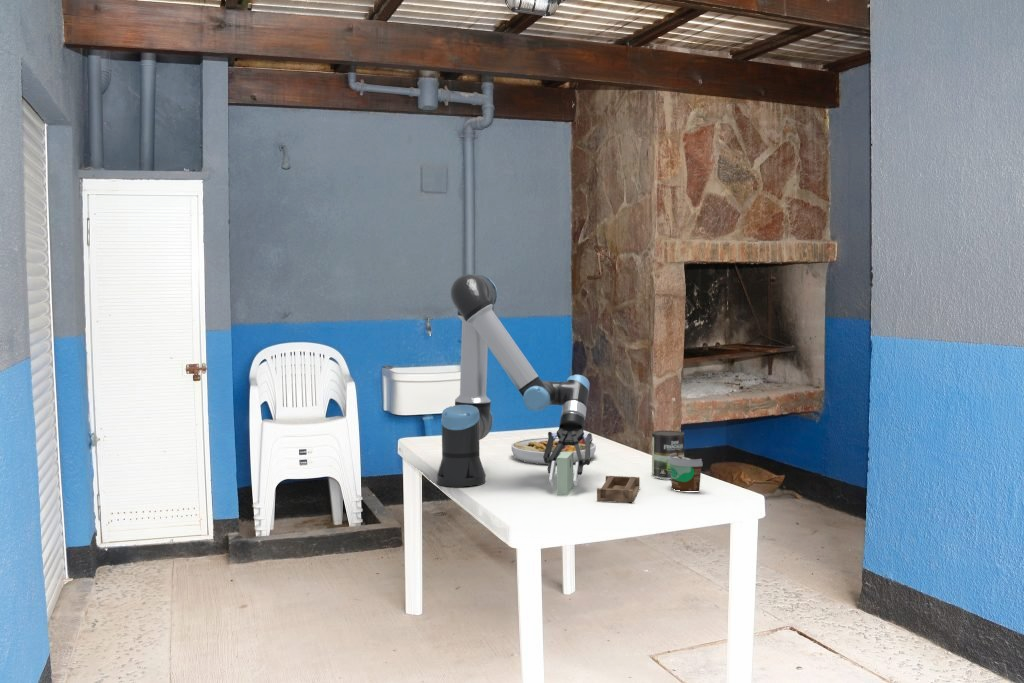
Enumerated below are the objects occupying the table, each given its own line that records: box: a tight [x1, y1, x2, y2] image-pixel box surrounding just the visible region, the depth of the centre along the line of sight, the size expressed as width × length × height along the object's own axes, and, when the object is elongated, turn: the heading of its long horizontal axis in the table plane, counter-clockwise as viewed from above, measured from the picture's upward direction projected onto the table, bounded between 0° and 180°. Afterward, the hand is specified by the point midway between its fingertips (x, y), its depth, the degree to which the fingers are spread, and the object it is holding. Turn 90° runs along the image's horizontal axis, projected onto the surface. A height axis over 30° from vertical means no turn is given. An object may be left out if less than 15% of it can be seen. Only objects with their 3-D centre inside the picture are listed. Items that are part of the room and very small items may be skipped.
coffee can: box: [651, 429, 686, 480], centre depth 271 cm, size 10×10×14 cm
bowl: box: [511, 437, 597, 465], centre depth 304 cm, size 30×30×8 cm
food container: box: [668, 453, 704, 492], centre depth 252 cm, size 12×6×10 cm, turn 29°
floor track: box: [596, 475, 641, 503], centre depth 247 cm, size 10×18×4 cm, turn 165°
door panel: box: [556, 451, 574, 496], centre depth 252 cm, size 3×10×11 cm, turn 165°
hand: (562, 482), depth 249 cm, fingers open, 6 cm apart
